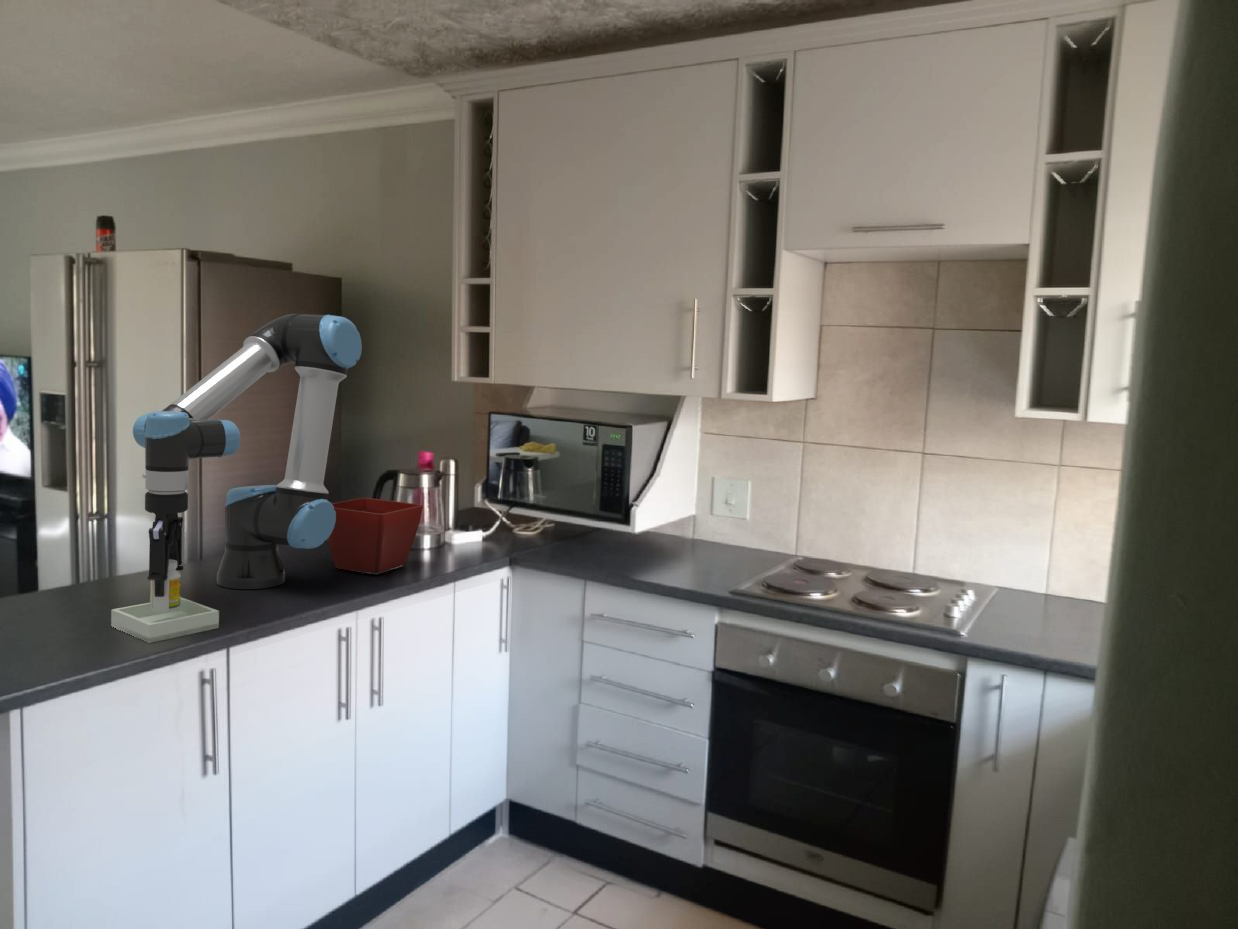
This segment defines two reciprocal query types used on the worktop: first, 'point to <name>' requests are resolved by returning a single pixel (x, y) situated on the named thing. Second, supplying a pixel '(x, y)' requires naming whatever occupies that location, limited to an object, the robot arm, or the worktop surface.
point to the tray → (164, 621)
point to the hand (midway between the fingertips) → (165, 607)
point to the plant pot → (373, 534)
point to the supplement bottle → (170, 587)
